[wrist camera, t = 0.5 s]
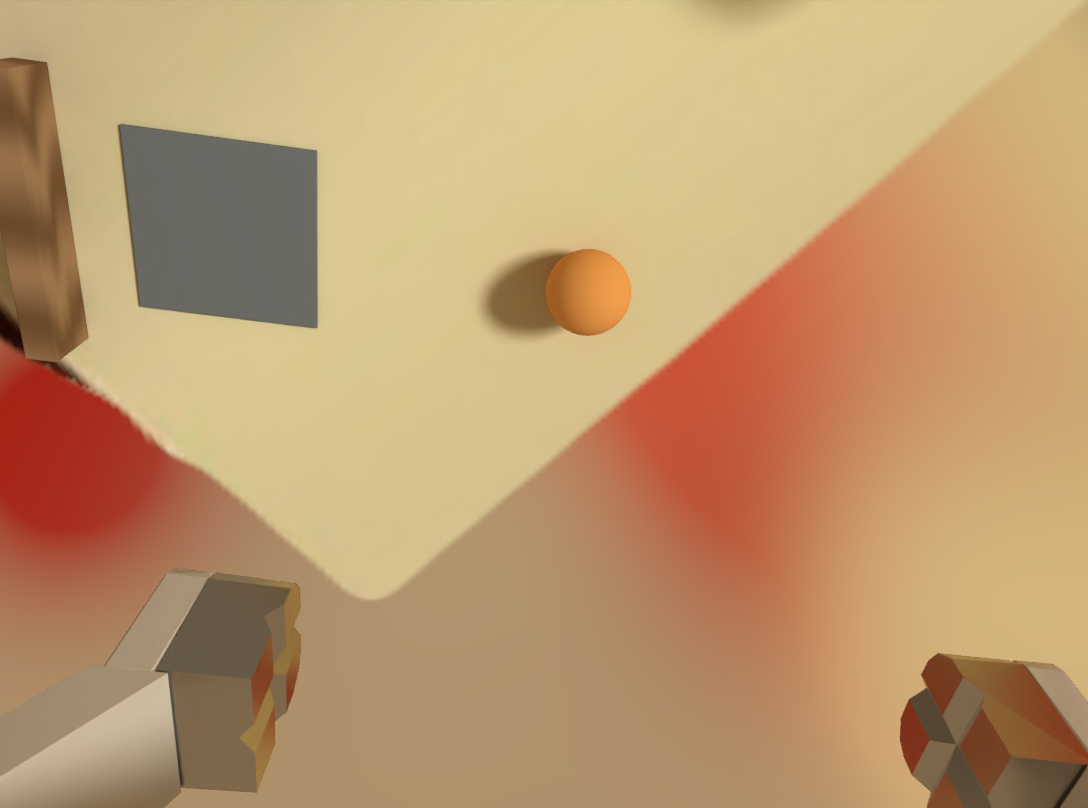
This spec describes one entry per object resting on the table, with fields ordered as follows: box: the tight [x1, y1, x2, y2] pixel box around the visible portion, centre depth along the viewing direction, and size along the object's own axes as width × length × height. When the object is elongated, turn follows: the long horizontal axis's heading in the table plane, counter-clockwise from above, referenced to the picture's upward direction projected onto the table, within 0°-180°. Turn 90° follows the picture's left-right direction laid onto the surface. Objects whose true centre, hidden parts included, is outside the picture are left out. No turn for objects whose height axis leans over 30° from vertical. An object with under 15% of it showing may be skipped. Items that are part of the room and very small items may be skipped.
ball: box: [545, 249, 631, 336], centre depth 51 cm, size 6×6×6 cm
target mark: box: [120, 124, 317, 328], centre depth 52 cm, size 12×12×1 cm
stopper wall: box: [0, 58, 88, 362], centre depth 49 cm, size 18×2×4 cm, turn 172°
